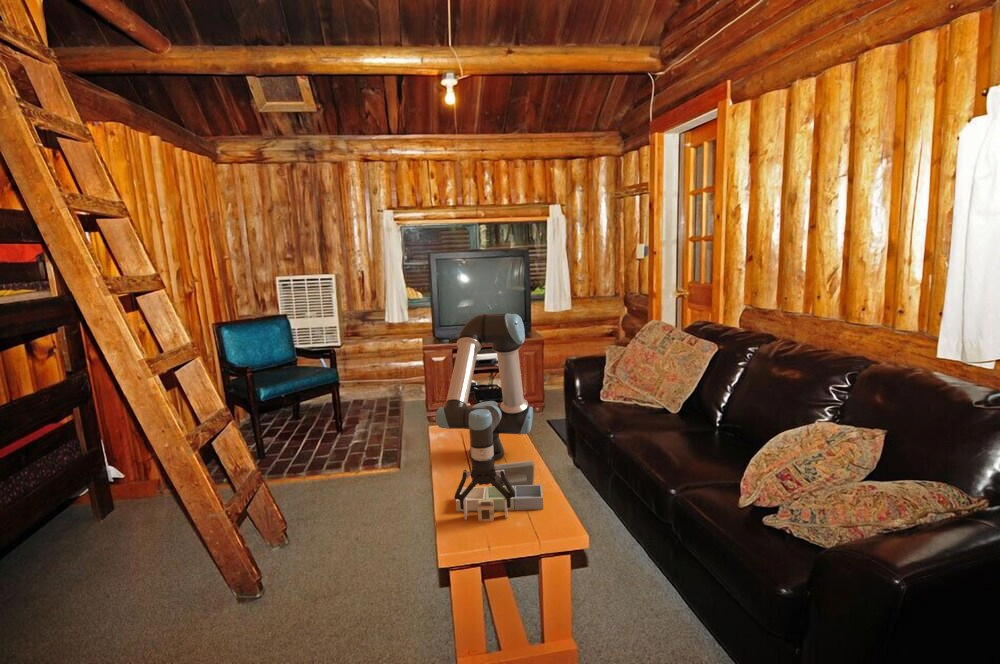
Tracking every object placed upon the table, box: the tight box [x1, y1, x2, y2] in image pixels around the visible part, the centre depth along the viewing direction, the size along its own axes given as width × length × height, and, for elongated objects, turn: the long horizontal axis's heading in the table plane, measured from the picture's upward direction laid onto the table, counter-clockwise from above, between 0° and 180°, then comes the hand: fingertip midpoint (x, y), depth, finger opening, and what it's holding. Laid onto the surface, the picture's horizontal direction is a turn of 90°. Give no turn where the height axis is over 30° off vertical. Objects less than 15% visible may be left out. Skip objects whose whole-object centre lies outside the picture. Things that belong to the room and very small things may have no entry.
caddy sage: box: [485, 485, 515, 512], centre depth 185 cm, size 10×10×4 cm
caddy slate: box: [514, 484, 544, 511], centre depth 185 cm, size 10×10×4 cm
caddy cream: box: [455, 486, 487, 513], centre depth 186 cm, size 10×10×4 cm
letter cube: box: [477, 500, 495, 522], centre depth 177 cm, size 5×5×5 cm
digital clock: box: [491, 460, 535, 486], centre depth 195 cm, size 16×9×11 cm, turn 88°
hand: (486, 517), depth 177 cm, fingers open, 13 cm apart
